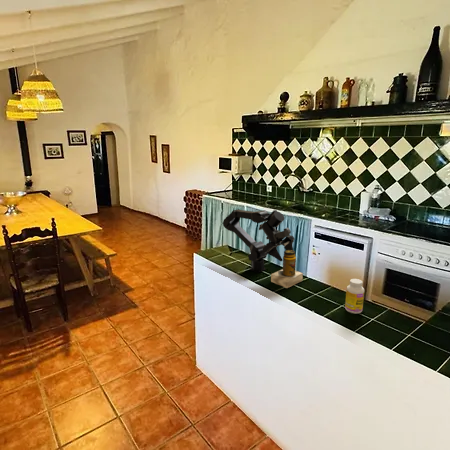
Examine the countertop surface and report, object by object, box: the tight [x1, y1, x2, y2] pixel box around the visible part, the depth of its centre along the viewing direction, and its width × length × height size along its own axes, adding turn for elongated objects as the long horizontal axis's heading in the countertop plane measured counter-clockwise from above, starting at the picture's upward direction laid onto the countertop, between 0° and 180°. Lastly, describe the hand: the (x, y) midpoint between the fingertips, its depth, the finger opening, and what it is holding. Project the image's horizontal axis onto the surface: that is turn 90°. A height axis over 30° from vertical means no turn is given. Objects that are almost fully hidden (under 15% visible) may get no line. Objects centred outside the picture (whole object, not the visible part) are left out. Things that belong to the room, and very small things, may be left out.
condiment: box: [277, 249, 297, 277], centre depth 155 cm, size 7×8×12 cm
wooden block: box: [270, 268, 304, 289], centre depth 157 cm, size 10×12×4 cm
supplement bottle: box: [344, 278, 365, 315], centre depth 128 cm, size 7×7×13 cm
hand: (288, 258), depth 154 cm, fingers open, 9 cm apart
